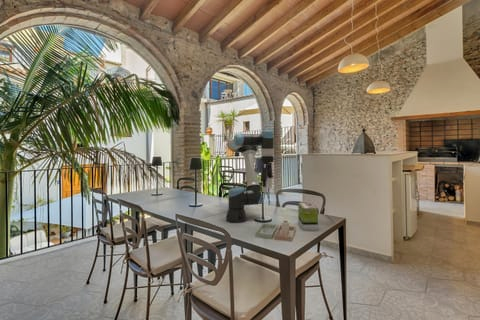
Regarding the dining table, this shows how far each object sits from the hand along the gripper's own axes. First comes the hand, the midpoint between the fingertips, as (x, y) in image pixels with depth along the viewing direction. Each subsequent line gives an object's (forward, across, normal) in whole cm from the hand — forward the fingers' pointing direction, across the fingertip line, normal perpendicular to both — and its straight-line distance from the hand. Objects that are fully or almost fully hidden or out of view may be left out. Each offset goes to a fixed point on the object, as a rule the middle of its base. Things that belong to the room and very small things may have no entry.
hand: (267, 190), depth 151 cm
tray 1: (+27, 0, 0) cm, 27 cm away
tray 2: (+27, 0, -11) cm, 29 cm away
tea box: (+27, +20, -23) cm, 41 cm away
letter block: (+27, 0, -11) cm, 29 cm away
